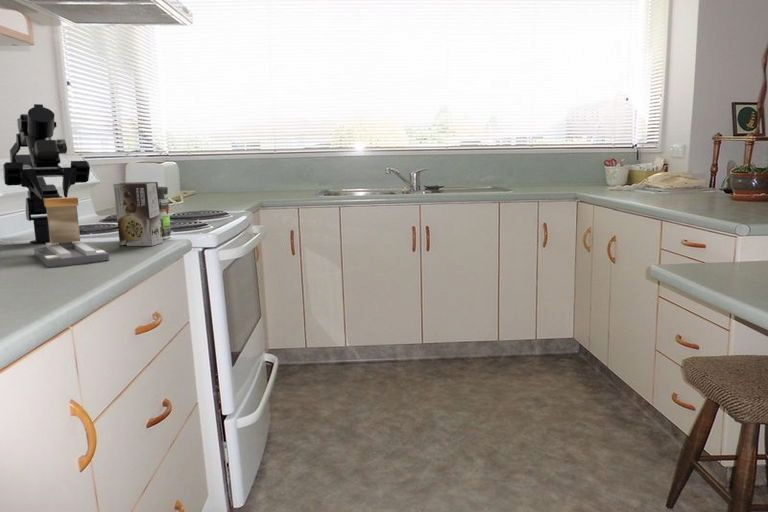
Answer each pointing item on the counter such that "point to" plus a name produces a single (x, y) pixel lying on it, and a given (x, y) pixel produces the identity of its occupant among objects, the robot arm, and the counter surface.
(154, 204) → the grey printed cardboard box
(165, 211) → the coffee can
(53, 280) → the counter surface
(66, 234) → the block
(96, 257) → the fader deck
